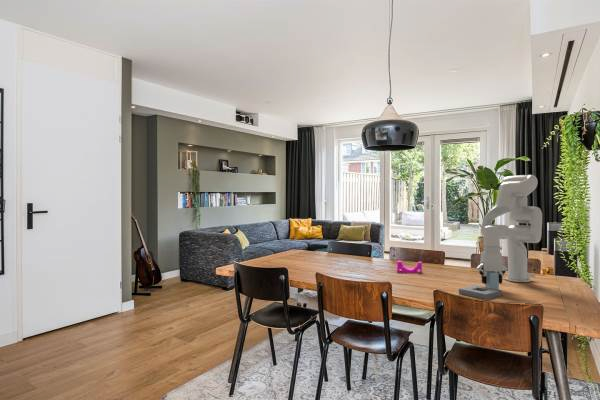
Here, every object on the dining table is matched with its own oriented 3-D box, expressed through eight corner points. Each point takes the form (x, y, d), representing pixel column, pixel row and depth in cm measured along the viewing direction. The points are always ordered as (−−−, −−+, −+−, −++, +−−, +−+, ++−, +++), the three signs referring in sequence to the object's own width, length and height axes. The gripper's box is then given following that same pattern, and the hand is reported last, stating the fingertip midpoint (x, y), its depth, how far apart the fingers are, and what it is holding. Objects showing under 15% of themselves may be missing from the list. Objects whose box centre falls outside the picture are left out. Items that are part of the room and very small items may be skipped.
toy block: (397, 274, 237) (397, 262, 237) (397, 272, 243) (397, 260, 243) (421, 275, 233) (421, 263, 233) (421, 273, 239) (421, 261, 239)
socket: (474, 289, 193) (474, 285, 193) (502, 295, 181) (502, 290, 181) (458, 293, 185) (458, 288, 185) (486, 299, 173) (486, 294, 173)
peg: (493, 288, 196) (493, 271, 196) (498, 290, 192) (498, 272, 192) (485, 288, 196) (485, 271, 196) (490, 290, 191) (490, 273, 191)
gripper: (503, 248, 198) (503, 281, 198) (471, 248, 197) (472, 282, 197) (512, 250, 191) (512, 284, 190) (479, 250, 189) (479, 285, 189)
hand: (491, 283), depth 194 cm, fingers open, 7 cm apart
